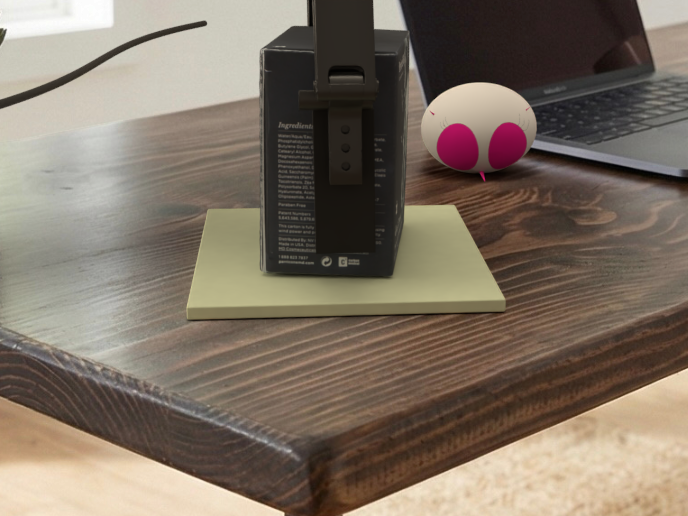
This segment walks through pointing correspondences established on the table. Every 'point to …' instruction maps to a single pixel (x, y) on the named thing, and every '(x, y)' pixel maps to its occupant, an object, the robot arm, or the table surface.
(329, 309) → the mat
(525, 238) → the table surface
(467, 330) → the table surface
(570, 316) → the table surface
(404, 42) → the box
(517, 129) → the stress ball
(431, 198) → the table surface
